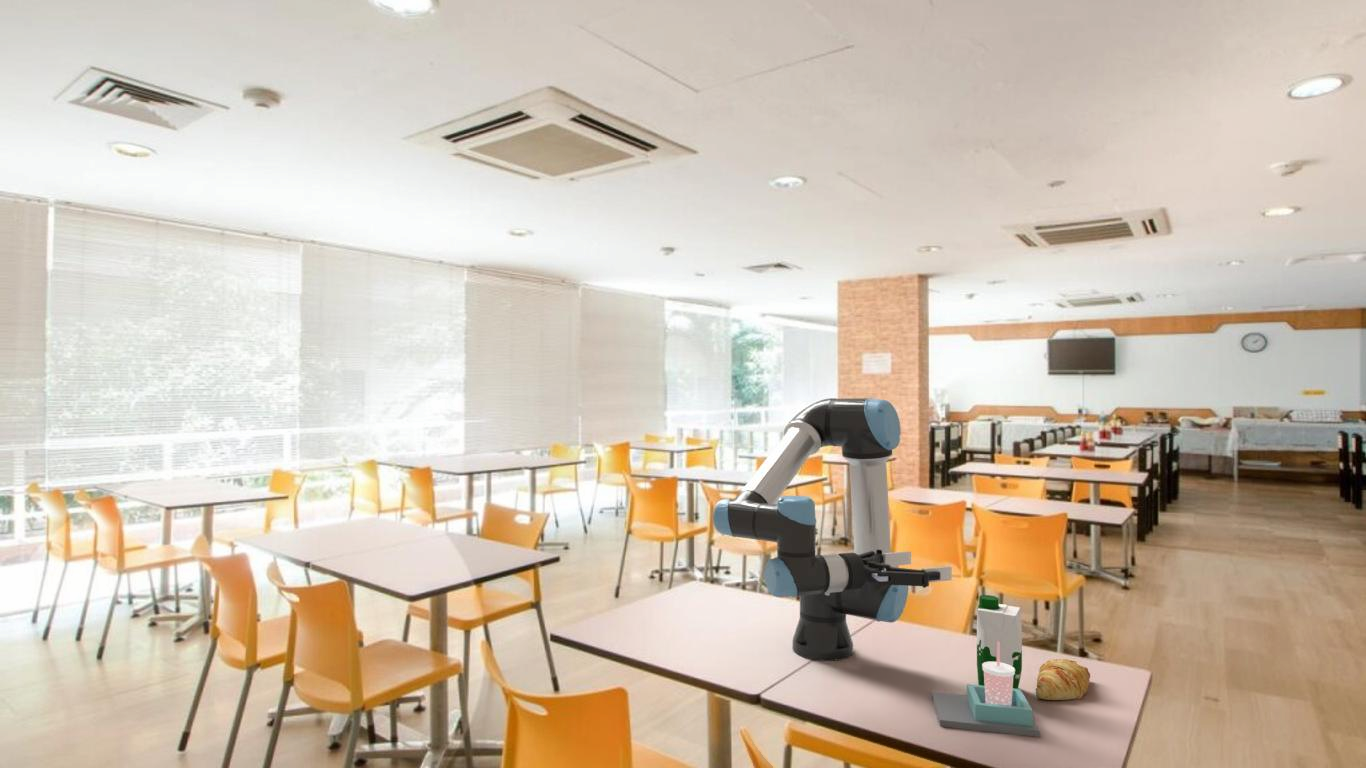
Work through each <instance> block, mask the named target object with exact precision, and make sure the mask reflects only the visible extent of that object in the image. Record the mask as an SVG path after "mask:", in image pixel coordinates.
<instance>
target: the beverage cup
mask: <svg viewBox="0 0 1366 768" xmlns="http://www.w3.org/2000/svg"><path fill="white" fill-rule="evenodd" d="M982 669H983V671H984V684H985V700H986V703H989V704H999V705H1009V706H1011V704H1012V690H1013V675H1014V674H1015V668H1014V667H1012V666H1011V665H1008V664H1006V663H1001V662H1000V642H997V662H994V661H991V662H984V663H983V664H982Z"/></svg>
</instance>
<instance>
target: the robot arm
mask: <svg viewBox="0 0 1366 768" xmlns="http://www.w3.org/2000/svg"><path fill="white" fill-rule="evenodd" d="M901 433H902V431H901V422H900V418H899V414H898V412H897V409H896V408H895V407H894V405H893V404H892V403H891V402H889V401H888V400H885V399H879V398H878V399H877V398H873V397H870V398H866V397H865V398H862V397H861V398H860V397H859V398H836V397H835V398H825V399H821V400H819V401H816V402H813V403H812V404H810V405H808V406H807V407H804V409H802V410H801V411H800V412H798V413H797V414H796V415H794V417H793V418H792V419H791V420H790V421H788V423H787V425H786V426H785V428H784V430H783V437H782V438H781V439H780V441H779V442H778V443H777V444H776V446H775V447H774V448H773V449H772V451H771V452H770V453H769V454H768V456H767V457H766V459H764V461H763V462H762V464H760V466H759V467H758V469H757V470H756V472H755V473H754V474H753V475H752V476H751V478H750V479H749V480H748V482H747V483H746V484H745V485H744V487H743V488H742V489H741V491H740V492H739V493H738V494H737V495H736V497H735V498H734V499H732V498H724V499H721V500H719V501H718V502H717V503H716V504H715V506H714V509H713V512H712V523H713V525H714V528H715V529H714V530H716V531H717V532H718V533H719V534H721V535H725V536H729V537H730V536H731V537H733V538H743V539H750V540H758V541H764V542H771V543H772V542H773V543H776V546H777V548H776V550H777V551H776V554H777V555H776V556H777V557H776V556H775V557H774V558H771V559H769V560H767V561H766V564H765V569H764V581H765V585H766V587H767V588H766V589H767V590H768V592H769V593H770V594H771V595H773V597H776V598H787V597H790V598H796V597H799V620H798V623H797V625H796V628H795V632H794V635H793V638H792V650H793V652H795V653H796V654H797V655H799V656H801V657H804V658H807V659H812V660H818V661H841V660H845V659H848V658H850V657H852V656H853V654H854V643H853V639H852V636H851V633H850V630H849V629H850V628H849V627H848V623H847V615H848V616H853V617H858V618H861V619H867V620H872V621H875V622H884V623H894V622H897V621H898V620H900V618H901V616H902V614H903V613H904V609H905V607H906V603H907V600H908V596H909V586H910V587H922V588H923V589H925V588H927V587H930V583H937V582H948V581H952V577H953V575H952V568H953V567H952V566H950V565H946V566H933V567H922V568H921V569H915V568H914V569H913V568H903V567H899V566H906V565H908V566H909V565H912V552H911V551H910V550H908V551H895V552H892V548H891V547H892V545H891V525H890V506H889V493H888V492H889V491H888V490H889V489H888V486H889V485H888V471H887V467H888V466H887V461H888V460H889V459H890V458H891V457H892V456H893V450H895V449H897V447H898V446H899V444H900V441H901V435H902V434H901ZM830 446H831V447H839V448H841V454H842V455H841V456H842V458H844V459H845V460H846V461H847V462H848V464H849V465H848V467H849V480H850V497H851V511H852V512H851V514H852V515H851V516H852V531H853V546H854V547H853V548H854V551H853V552H844V553H827V554H816V534H817V533H816V528H817V526H816V525H817V517H816V505H815V501H814V500H813V498H811V497H808V496H804V495H783V493H784V492H785V491H786V489H787V488H788V486H789V485H790V484H791V482H792V481H793V479H794V478H795V476H797V474H798V472H799V471H800V470H801V468H802V467H803V466H804V464H805V462H806V461H807V460H808V459H809V457H810V456H812V455H813V456H814V455H815V454H816V453H818V452H819V450H820V449H821V448H824V447H830Z"/></svg>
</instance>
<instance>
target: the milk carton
mask: <svg viewBox="0 0 1366 768" xmlns="http://www.w3.org/2000/svg"><path fill="white" fill-rule="evenodd" d="M978 598H979V599H978V606H977V610H976V613H977V614H976V671H977V680H978V681H977V683H978V684H977V685H983V686H985V684H984V671H983V669H982V664H983V663H984V662H991V661H994V662H997V642H1000V662H1001V663H1006V664H1008V665H1011V666H1012V667H1014V668H1015V674H1014V675H1013V688H1014V689H1019V686H1020V682H1021V681H1020V680H1021V676H1022V670H1023V627H1022V615H1021V614H1022V613H1021V607H1019V606H1012V605H1008V604H1005V603H1003V604H1002V603H999V600H1000V599H999V597H997V596H994V595H988V594H987V595H986V594H983V595H982V594H981V595H979V596H978Z"/></svg>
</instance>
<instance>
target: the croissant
mask: <svg viewBox="0 0 1366 768" xmlns="http://www.w3.org/2000/svg"><path fill="white" fill-rule="evenodd" d="M1090 678H1091V673H1090V671H1089V669H1088V668H1087V667H1086V666H1083V665H1080V664H1079V663H1078V662H1076V661H1074V660H1070V659H1065V658H1063V659H1061V658H1060V659H1058V658H1056V659H1053V660H1047V661H1045V662H1044V663H1042V665H1040V667H1039V668H1038V675H1037V679H1036V681H1037V682H1036V688H1035V695H1036V697H1037V698H1038V699H1040V700H1041V699H1042V700H1048V701H1068V700H1071V701H1072V700H1076V699H1077V700H1079V699H1081V698H1083V696H1084V695H1086V693H1087V692H1088V688H1089V685H1090Z"/></svg>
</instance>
